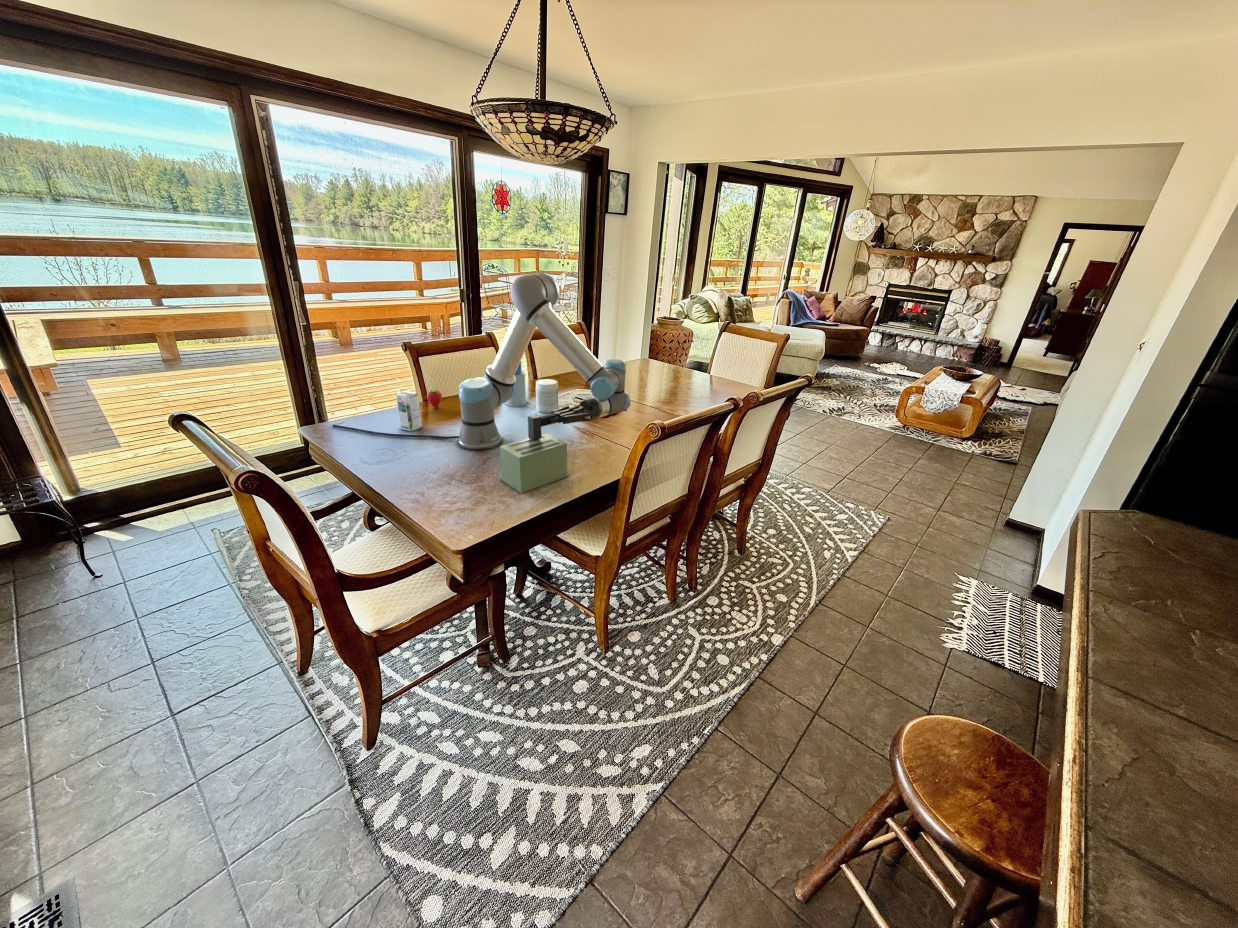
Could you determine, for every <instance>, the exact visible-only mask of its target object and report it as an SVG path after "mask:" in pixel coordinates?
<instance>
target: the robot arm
mask: <svg viewBox="0 0 1238 928" xmlns="http://www.w3.org/2000/svg"><path fill="white" fill-rule="evenodd" d="M559 298H560V287H559V285H558V282H557V280H556V279H555V278H554V277H553V276H551V274H548V273H546V272H541V271H540V272H539V271H537V272H533V273H527V274H522V275H519V276H518V277H517V278H516V279H514V281H513V282H512V283H511V286H510V299H511V302H512V304H513V306H514V307H515V309H516V310H515V312H514V314H513V316H512V320H511V322H510V323H509V326H508V329H507V331H506V333H505V336H504V338H503V340H502V342H501V345H500V348H498V349H499V350H498V352H497V354H496V357H495V359H494V361H493V364H491V365H488V366H486V369H485V371H484V373H483V376H482V377H472V378H468V379H465V380H463V381H462V382H460V383H459V386H458V398H459V406H460V407H459V408H460V418H461V426H460V430H459V435H452V436H451V435H449V436H448V435H447V436H442V435H431V434H401V433H388V432H379V431H373V430H367V429H361V428H355V427H352V426H351V427H350V426H346V425H345V426H344V425H338V424H332V427H333V428H337V429H338V428H339V429H344V430H349V431H356V432H361V433H365V434H372V435H379V436H389V437H400V438H401V437H402V438H429V439H440V440H451V439H458V446H460V447H461V448H462V449H466V450H470V451H482V450H490V449H492V448H495V447H497V446H500V444H501V442H502V436H501V433H500V432H499V430H498V427H497V425H496V422H495V409H497V407H499V406H501V405H503V404H505V403H507V401H508V400H509V399H510V398H511V397H512V395H513V393H514V390H515V385H514V384H515V382H516V378H515V376H514V374H515V372H516V370H517V368H518V365H519V363H520V361H521V362H522V360H523V357H524V355H525V352H526V350H527V349H528V346H529V344H530V341H531V340H532V337H533V335H534V333H535V331H536V328H537V329H538V330H539V331H540V332H541V333H542V335H544V337H545V338H546V339H547V340H548V341H549V342H550V343H551V344H552V345H553V347H554V348H555V349H556V350H557V351H558V352H559V354H561V355H562V356H563V358H564V359H565V360H566V361H567V362H568V363H569V364H570V365H571V366H572V367H573V368H574V369H575V370H576V372H577V373H578V374H579V375H580V376H581V377H582V378H583V379H584V380H585V382H586V383H587V384H588V385H589V387H590V392H591V395H592V397H589V398H584V399H582V400H581V401H580V402H579V404H574V405H572V406H570V405H569V404H568V403H565V404H564V405H562V406H560V407H558V409H555V410H553V411H551V415H547V416H543V417H542V416H540V417H541V428H542V427H545V426H549V425H553V424H556V423H557V424H561V423H562V425H567V424H574V423H580V422H590V421H592V420H596V419H601V418H603V417H606V416H610V415H613V414H619V413H622V412H624V411H626V410H628V409H629V407H630V405H631V398H630V395H629V393H628V392H627V391H625V389H626V388H625V387H626V386H625V385H626V374H627V373H626V372H627V366H626V365H627V364H626V361H624V360H622V359H618V358H610V359H607V360H605V361H604V366H603V364H602V363H601V362H600V361H599V360H598V358H597V357H596V356H595V355H594V354H593V353H592V352H591V351H590V349H588V347H586V345H585V344H584V343H583V342H582V341H581V340H580V339H579V337H578V336H577V335H576V334H575V333H574V332H573V331H572V330H571V328H569V326H568V325H567V324H566V323H565V322H564V321H563V320H562V319H561V317H560V316H559V315H558V314H557V313H556V312H555V311H554V310H553V309H552V307H554V305H556V303H557V302H558V300H559Z"/></svg>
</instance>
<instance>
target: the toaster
mask: <svg viewBox="0 0 1238 928" xmlns="http://www.w3.org/2000/svg"><path fill="white" fill-rule="evenodd" d="M499 457H500V472H501V481H502V482H503V483H505V484H507V485H508V486H509V487H511V488H513V489H514V490H515V491H517V492H519V493H520V494H523V493H525V492H528V491H531V490H534V489H537V488H539V487H542V486H544V485H547V484H550V483H553V482H555V481H558V480H562V479H564V478H566V477H568V443H567V442H565V441H563V440H562V439H560V438H557V437H556V436H553V435H552V434H549V433H548V432H545V433H541V439H538V440H535V441H533V440H532V439H530V438H528V437H527V438H524V439H521V440H517V441H513V442H509V443H506V444H503V445H502V444H501V445H499Z"/></svg>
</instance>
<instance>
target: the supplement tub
mask: <svg viewBox="0 0 1238 928" xmlns="http://www.w3.org/2000/svg"><path fill="white" fill-rule="evenodd" d="M558 383H559V382H558V380H556V379H551V378H546V379H545V378H541V379H538V380H536V381H535V398H536V399H535V400H536V415H538V416H540V417H543V416H547V415H551V411H553V410H555V409H558V408H559V384H558Z"/></svg>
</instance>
